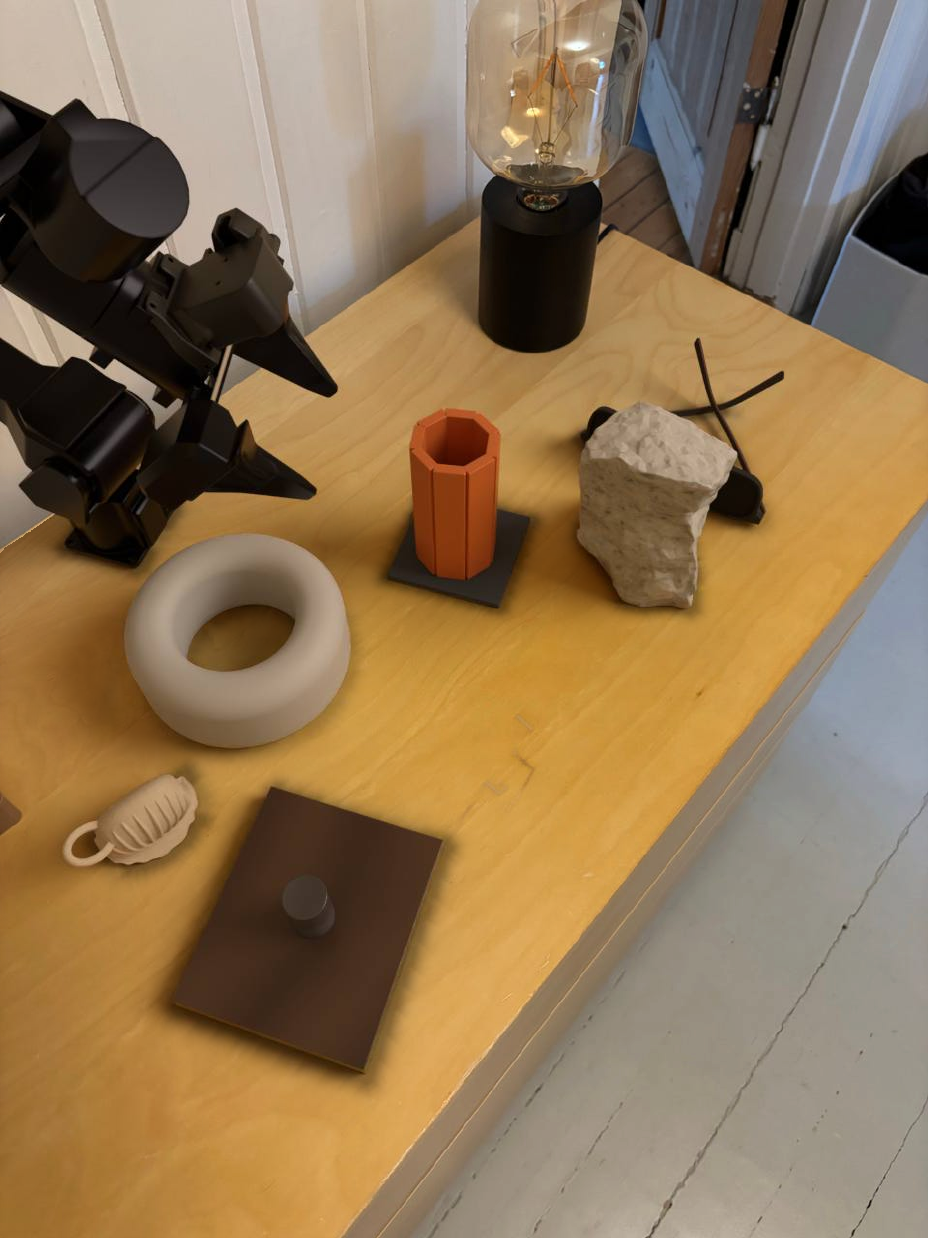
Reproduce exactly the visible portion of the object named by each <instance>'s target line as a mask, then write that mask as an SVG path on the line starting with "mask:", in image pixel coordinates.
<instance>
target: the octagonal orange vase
mask: <svg viewBox="0 0 928 1238" xmlns="http://www.w3.org/2000/svg"><path fill="white" fill-rule="evenodd" d="M501 439H502V434H501V433H500V429H499V428H497V427H496V426H495V425H494V424H493V423H492V422H491V421H490V420H489V419H488V418H487V417H486V416H485V415H484V414H482V413H481V412H477V410H471V409H459V408H451V407H450V408H449V407H445V409H443V408H440V409H438V410H437V411H434V412H433V413H431V414H429V415H428V416H425V417H423V418H422V419H420V420H418V421H417V422H416V424H413V429H412V433H411V438H410V442H409V445H408V447H409V448H408V455H409V464H410V465H409V468H410V482H411V497H412V511H413V512H412V513H413V517H414V528H415V543H416V555H417V558H418V559H419V560H420V561H421V562H422V563H423V564H424V565H425V566H426V568H427V569H428V570H429V571H430V572H431V573H432V574H433V575H435V574H437V577H443V578H451V579H460V580H465V577H466V578H467V579H470V578H471V577H473V576H474V575H476V574H478V573H479V572H481V571H483V570H484V569H486V568H487V567H489V566H490V563H492V562H493V555H494V548H495V542H496V522H497V509H498V499H499V478H500V477H499V476H500V475H499V474H500V462H501V461H500V458H501Z"/></svg>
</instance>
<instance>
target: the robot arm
mask: <svg viewBox="0 0 928 1238" xmlns="http://www.w3.org/2000/svg"><path fill="white" fill-rule="evenodd" d="M190 203H191V201H190V187H189V184H188V180H187V175H186V173H185V172H184V169H183V167H182V165H181V163H180V161H179V160H178V158H177V156H176V155H175V154H174V152H173V151H172V149H171V148H170V146H168V145H167V144H166V143H165V141H163V139H162V138H160V137H158V136H153V135H152V134H151V133H149V132H148V131H147V130H146V129H144V128H143V127H140V126H138V125H137V124H134V123H132V122H130V121H127V120H122V119H119V118H115V117H114V118H111V117H107V118H106V117H100V118H98V117H97V116H96V115H95V114H94V113H93V112H92V110H91V109H89V107H88V106H87V105H86V104H85V103H84V102H83V101H82V99H80V98H77V97H75V98H73V99H72V100H70V101H69V102H68V103H67V104H66V105H64V106H63V107H62V108H60V109H59V110H58V111H57V112H55V113H54V114H51V113H49V112H46V111H44V110H42V109H40V108H38V107H36V106H35V105H32V104H29V103H28V102H25V101H23V100H22V99H19V98H17V97H15V96H13V95H11V94H8V93H7V92H5V91H2V90H0V286H1V287H2V288H3V289H5V290H7V291H8V292H9V293H11V294H13V295H14V296H16V297H17V298H19V299H21V300H22V301H23V302H25V303H26V304H28V305H30V306H32V307H33V308H34V309H36V310H38V311H39V312H41V313H42V314H44V315H45V316H47V317H48V318H50V319H52V320H54V321H55V322H56V323H58V324H59V325H61V326H62V327H64V328H66V329H68V330H69V331H71V332H72V333H73V334H75V335H77V336H78V337H80V338H81V339H83V340H84V341H86V342H87V343H89V344H91V346H93V348H92V350H91V352H90V355H89V357H88V360H86V359H84V358H80V357H77V356H74V355H73V356H70V357H69V358H68V359H67V360H66V361H65V362H64V363H63V364H62V365H60V366H58V365H50V364H49V365H47V364H42V363H40V362H38V361H36V360H35V359H33V358H32V357H30V356H29V355H28V354H26V353H24V352H23V351H21V350H20V349H19V348H17V347H16V346H14V345H13V344H11V343H9V342H8V341H6V340H5V339H4V338H3V337H1V336H0V423H2V424H3V425H4V426H5V427H6V428H7V430H8V432H9V434H10V436H11V438H12V440H13V443H14V444H15V447H16V448H17V451H18V453H19V456H20V457H21V459H22V461H23V463H24V465H25V466H26V467H27V468H28V469H29V470H30V472H29V473H28V474H27V475H26V476H25V477H24V478H23V479H22V480H21V481H20V482H19V484H18V487H19V489H20V490H21V491H22V492H23V494H24V495H25V496H26V497H27V498H28V499H29V500H30V502H31V503H32V504H33V505H34V506H36V507H37V508H39V509H41V510H43V511H46V512H49V513H51V514H54V515H56V516H58V517H61V518H63V519H66V520H68V521H69V523H70V525H71V526H72V528H73V529H72V530H71V531H70V533H69V534H68V536H67V537H66V539H65V540H64V542H63V546H64V547H65V549H66V550H67V551H70V552H73V553H77V554H80V555H84V556H87V557H91V558H94V559H98V560H102V561H105V562H108V563H112V564H116V565H120V566H123V567H126V568H131V569H135V568H136V569H137V568H138V567H140V565H141V564H142V563H143V561H144V559H145V558H146V556H147V555H148V553H149V552H150V550H151V549H152V548H153V546H155V544H156V542H157V541H158V540H159V538H160V537H161V535H162V533H163V532H164V530H165V529H166V526H167V525H168V522H169V520H170V518H171V516H172V515H173V513H174V512H175V511H176V510H177V509H178V508H180V507H181V506H183V504H185V503H186V502H191V503H192V502H194V501H195V500H196V499H197V498H199V497H200V496H201V495H202V494H205V493H208V494H209V493H210V494H211V493H214V494H217V493H218V494H247V495H257V496H265V497H272V498H273V497H274V498H283V499H292V500H299V501H309V500H311V499H313V498H314V497H315V496H317V493H318V488H317V487H316V486H315V485H314V484H313V483H311V482H310V481H309V480H308V479H307V478H305V476H303V475H302V474H301V473H299V471H296V470H295V469H293V468H292V467H290V466H289V465H288V464H286V463H285V462H283V460H280V459H279V458H278V457H276V456H275V455H273V454H272V453H270V452H268V451H267V450H266V449H265V448H264V447H262V446H260V445H259V444H258V443H257V442H256V439H255V436H254V433H253V431H252V427H251V424H250V421H249V420H248V419H247V418H246V419H244V420H243V421H242V422H241V423H240V424H239V425H237V424H236V422H235V420H234V418H233V416H232V414H231V412H230V410H229V409H227V408H226V407H224V406H223V405H221V404H220V403H219V401H220V399H221V395H222V392H223V390H224V389H223V388H224V384H225V382H226V379H227V375H228V372H229V369H230V366H231V363H232V359H233V356H236V357H238V358H241V359H242V360H245V361H247V362H249V363H251V364H253V365H254V366H255V365H256V366H257V367H259V368H261V369H263V370H265V371H268V372H269V373H272V374H273V375H276V376H278V377H279V378H281V379H284V380H286V381H288V382H290V383H292V384H294V385H296V386H298V387H300V388H302V389H304V390H306V391H308V392H311V393H313V394H316V395H319V396H322V397H324V398H327V399H329V398H332V397H333V396H334V395H336V394H337V393H338V390H339V385H338V383H336V381H335V380H334V378H333V377H332V375H331V374H330V373H329V371H328V370H327V369H326V367H325V366H324V365H323V363H322V362H321V360H320V359H319V358H318V356H317V355H316V353H315V352H314V350H313V349H312V347H311V346H310V345H309V343H308V342H307V341H306V339H305V338H304V336H303V335H302V333H301V332H300V330H299V328H298V326H297V325H296V323H295V322H294V320H293V318H292V316H291V313H290V305H289V294H290V292H292V291H293V290H294V285H295V282H294V280H293V278H292V277H291V276H290V274H289V273H288V271H287V270H286V268H285V267H284V264H285V259H284V258H282V256H280V255H279V251H280V248H281V243H282V241H281V239H280V237H279V236H278V235H277V234H275V233H270V232H269V231H268V229H266V227H265V226H264V225H263V224H262V223H261V222H260V221H258V220H257V219H254V217H252V216H251V215H249V214H247V213H246V212H245V211H243V210H241V208H238V207H234V208H231V209H229V210H227V211H224V212H222V213H220V214H218V215H217V217H216V219H215V222H214V225H213V227H212V230H211V234H210V235H211V242H212V246H213V248H212V247H207V248H205V249H204V252H203V254H202V258H201V259H200V260H198V261H196V262H194V263H192V264H190V265H188V264H186V263H184V262H182V261H181V260H179V259H178V258H176V257H175V256H174V255H172V254H170V253H163V252H161V250H158V251H157V252H156V253H155V254H154V255H153V256H152V258H151V259H150V260H149V261H148V260H147V259H148V258H149V257H150V256H151V255H152V254H153V253H154V252H155V251H156V250H157V249H158V248H159V247H161V246H162V245H163V244H164V242H166V241H167V240H168V239H169V238H170V237H171V236H172V235H173V234H174V233H175V232H176V231H177V230H178V229H179V228H180V227H182V225H183V223H184V221H185V219H186V217H187V216H188V212H189V207H190ZM114 360H115V361H117V362H118V363H120V364H122V365H123V366H125V367H126V368H128V369H129V370H131V371H132V372H133V373H136V374H137V375H138V376H140V377H142V378H143V379H145V380H146V381H148V382H150V383H151V384H152V385H154V386H155V389H154V393H153V395H152V397H151V400H152V401H153V402H154V403H156V404H158V405H160V406H161V407H162V408H164V409H166V410H167V409H168V408H169V407H170V406H171V405H172V404H173V403H174V402H176V400H177V399H178V400H180V401H181V402H182V403H181V406H180V407H179V408H178V409H177V410H176V411H175V412H174V413H173V414H171V416H169V417H168V418H167V419H166V420H165V421H164V422H163V423H162V424H161V425H160V426H159V427H158V428H156V417H155V414H154V412H153V410H152V408H151V407H150V405H149V404H148V403H147V402H146V400H144V399H143V398H142V397H140V396H139V395H138V394H137V393H135V392H133V391H131V390H130V389H128V387H127V385H125V384H124V383H121V382H118V381H116V380H114V379H112V378H111V377H109V376H108V375H106V374H104V372H102V371H101V370H99V369H98V368H96V366H97V367H99V368H101V369H102V370H106V369H107V368H108V367H109V365H110V364H111V363H112V362H113V361H114ZM90 362H91V363H90ZM92 363H93V364H94V365H96V366H94V365H93V364H92ZM206 381H207V383H205V382H206ZM138 467H139V468H138Z"/></svg>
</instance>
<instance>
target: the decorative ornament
mask: <svg viewBox="0 0 928 1238" xmlns="http://www.w3.org/2000/svg"><path fill="white" fill-rule="evenodd" d="M198 807H199V800H198V795H197V792H196V789H195V787H194V786H193V784H192V783H191V782H190V781H189V780H188V779H187V778H185V776H183V775H181V776H179V777H176V778H175V777H174V776H173V775H172V774H170V773H168V774H167V773H165V774H160V775H158V776H155V777H153V778H151V779H149V780H148V781H146V782H144V783H143V784H140V785H139V786H138V787H137V788H135V789H133V790H132V791H129V792H128V793H127V794H125V796H123V797H122V798H120V799H119V800H118V801H116V802H115V803H114V804H112V805H111V806H110V807H109V808H108V809H107V810H106V811H105V812H103V813H102V814H100V816H99V817H98V818H97V819H96V820H93V821H88V822H85V823H83V824H82V825H80V826H78V827H76V828H75V829H74V830H72V831H71V833H69V834H68V836H67V837H66V838H65V840H64V842H63V844H62V848H61V852H62V853H61V854H62V857H63V859H64V861H65V862H66V863H67V864H69V865H70V866H72V867H75V868H86V867H91V866H93V865H96V864H98V863H99V862H101V861H103V860H104V859H105V858H108V859H110V861H111V862H113V863H115V864H123V865H127V866H129V865H133V864H135V863H143V864H144V863H147V862H149V861H151V860H154V859H158V858H162V857H165V856H166V855H168V854H169V853H170V852H171V851H172V850H173V849H174V848H175V847H177V846H178V845H180V844H181V843H182V842H183V841H184V840H185V838H186V837H187V835H188V831H189V827H190V825H191V824H192V823H194V821H195V819H196V816H195V812H196V810H197V808H198ZM89 832H94V834H95V837H94V839H93V842H94V843H95V845H96V846H97V848H98V850H99V851H98V852H97V853H95V854H93V855H91V856H88V857H84V858H83V857H81V858H80V857H76V856H75V855H73V852H72V848H73V845H74V844H75V842H76V841H77V839H79V837H81V836H83V835H84V834H87V833H89Z"/></svg>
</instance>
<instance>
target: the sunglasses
mask: <svg viewBox="0 0 928 1238" xmlns="http://www.w3.org/2000/svg"><path fill="white" fill-rule="evenodd" d="M693 346H694V350H695V354H696V358H697V362H698V366H699V370H700V374H701V378H702V382H703V386H704V390H705V393H706V396H707V399H708V402H709V405H707V406H699V407H691V408H682V409H676V410H668V411H669V412H671V413H673V414H675V415H677V416H679V417H685V416H693V415H702V414H708V413H714V415H715V417H716V419H717V420H718V422H719V424H720V426H721V428H722V430H723V431H724V433H725V435H726V437H727V439H728V441H729V442H730V445H731V448H732V449H733V450H735V451H736V452H737V458H736V459H737V460H738V462H739V464H740V467H741V468H740V467H738V466H734V465H733V466H732V469H731V471H730V472H729V477H728V479H727V481H726V482H725V484H724V485H723V486H722V487H721V488H720V489H719V490H718V492H717V496H716V498H715V499H714V500H713V501H712V502H711V503H710V504H709V510H708V511H709V512H713V513H714V514H715V513H716V514H718V515H721V516H723V517H728V518H731V519H734V520H738V521H741V522H747V523H750V524H753V525H757V526H758V525H760V523H761V522H762V520H763V518H764V517H765V514H766V512H767V511H766V508H765V505H764V502H763V498H764V487H763V484H762V481H760V479H759V478H758V476H756V475H754V474H752V472H751V469H750V467H749V465H748V462H747V461H746V458H745V455H744V454H743V452H742V449H741V448H740V445H739V444H738V442H737V440H736V438H735V435H734V434H733V431H732V430H731V427H730V426H729V424H728V423H727V421H726V418H725V417H724V415H723V413H722V412H721V411H724V410H727V409H731V408H732V407H735V406H737V405H739V404H741V403H743V402H745V401H747V400H748V399H751V398H752V397H754V396H756V395H758V394H760V393H762V392H764V391H766V390H767V389H769V388H771V387H772V386H774V385H776V384H779V383H780V382H782V381H783V380H784V379H785V371H784V370H781V371H778V372H777V373H775V374H773V375H772V376H770V377H769V378H767V379H765V380H763V381H761V382H760V383H759V384H757V385H755V386H754V387H752V388H751V389H748V390H747V391H745V392H744V393H742V394H740V395H738V396H736V397H734V398H733V399H731V400H728V401H725V402H722V403H717V402H716V399H715V396H714V394H713V389H712V386H711V382H710V377H709V372H708V369H707V364H706V359H705V355H704V350H703V345H702V341H701V337H696V339H695V341H694V345H693ZM618 411H619V410H616V409H614V408H612V407H609V406H605V405H603V406H599V407H597V408H596V409H595V410H593V412H592V413H591V414H590V416H589V418H588V421H587V425H586V428H585V429H583V430H582V431H581V432H580V435H579V437H580V439H581V441H582V442H584V444H586V442H587V441H588V440H589V439H590V438H591V436H592V435H593V433H594V431H595V429H596V428H598V427H600V426H601V425H602V424H604V423H605V422H606V421H607V420H608V419H609V418H610V417H611V416H612V415H613V414H614V413H616V412H618Z"/></svg>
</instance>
